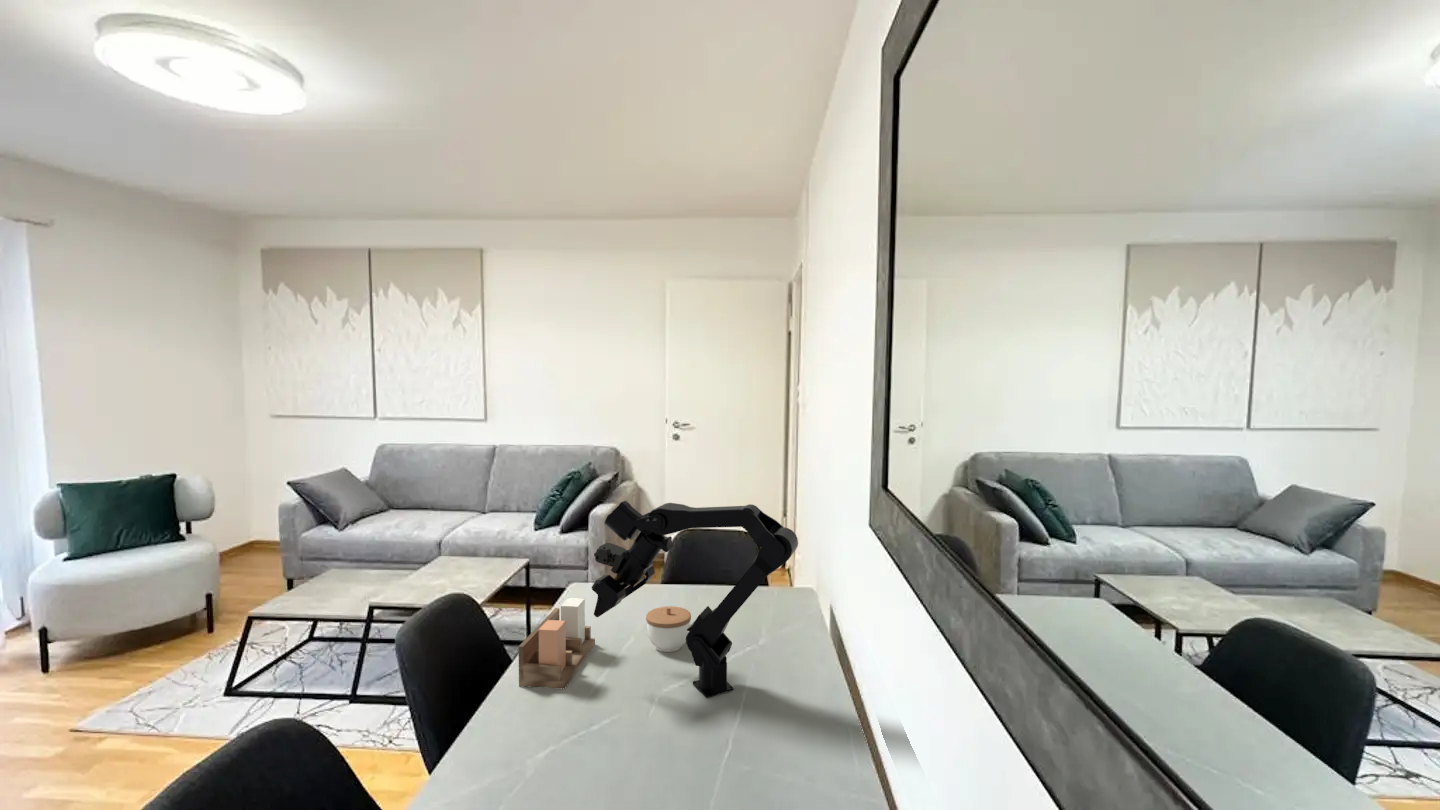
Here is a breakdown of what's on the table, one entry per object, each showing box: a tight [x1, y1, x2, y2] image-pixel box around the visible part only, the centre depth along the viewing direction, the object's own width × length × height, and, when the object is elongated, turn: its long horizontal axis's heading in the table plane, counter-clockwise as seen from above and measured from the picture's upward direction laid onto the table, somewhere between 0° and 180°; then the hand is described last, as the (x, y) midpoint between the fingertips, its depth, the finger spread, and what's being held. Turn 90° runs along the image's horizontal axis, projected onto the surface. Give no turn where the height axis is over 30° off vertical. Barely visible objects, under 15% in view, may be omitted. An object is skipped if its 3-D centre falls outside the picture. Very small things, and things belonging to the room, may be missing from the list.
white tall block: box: [560, 597, 586, 643], centre depth 141 cm, size 4×5×10 cm
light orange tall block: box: [539, 619, 566, 670], centre depth 128 cm, size 4×5×10 cm
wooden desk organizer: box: [518, 607, 596, 690], centre depth 135 cm, size 10×21×8 cm, turn 174°
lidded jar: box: [645, 605, 692, 653], centre depth 144 cm, size 11×11×9 cm
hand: (606, 608), depth 133 cm, fingers open, 9 cm apart
